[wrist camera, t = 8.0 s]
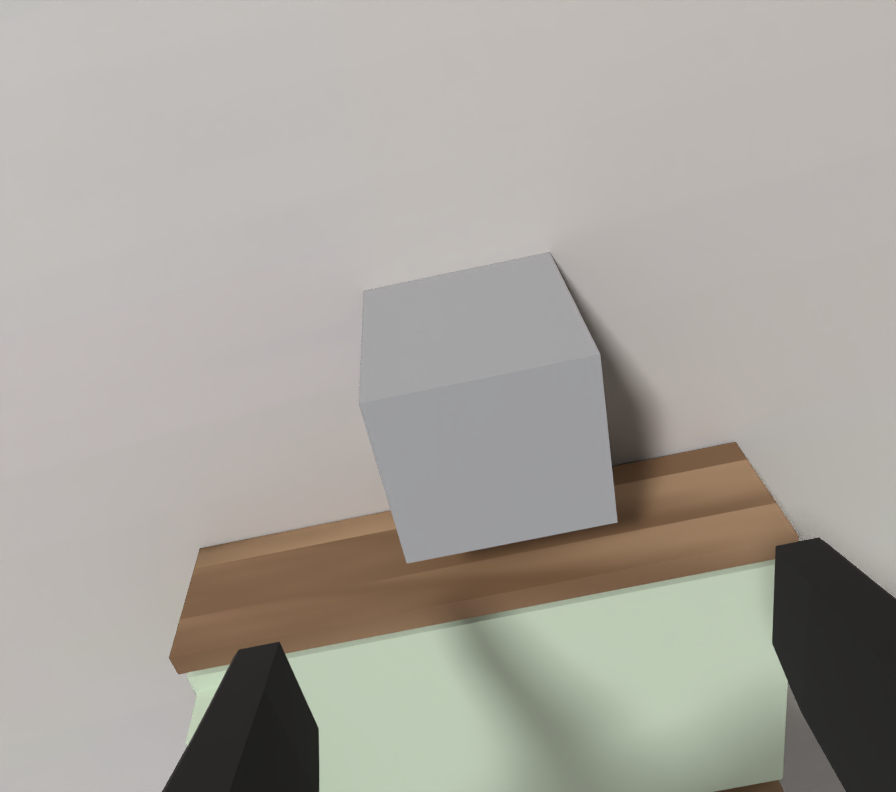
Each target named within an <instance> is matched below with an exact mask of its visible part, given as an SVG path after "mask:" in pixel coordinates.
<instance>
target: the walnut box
mask: <svg viewBox="0 0 896 792" xmlns="http://www.w3.org/2000/svg"><path fill="white" fill-rule="evenodd" d="M612 473H613V482H614V492H615V502H616V512H617V521H618V523H613V524H607V525H602V526H597V527H592V528H587V529H582V530H577V531H571V532H566V533H561V534H556V535H551V536H546V537H541V538H536V539H530V540H525V541H520V542H515V543H510V544H505V545H500V546H495V547H489V548H484V549H479V550H474V551H469V552H464V553H459V554H454V555H448V556H443V557H438V558H433V559H428V560H423V561H418V562H413V563H406V559H405V556H404V553H403V549H402V546H401V543H400V539H399V536H398V533H397V529H396V526H395V523H394V519H393V516H392V513H391V511H386V512H381V513H376V514H371V515H366V516H361V517H356V518H351V519H346V520H341V521H336V522H331V523H326V524H321V525H316V526H311V527H306V528H301V529H296V530H290V531H285V532H280V533H275V534H270V535H265V536H260V537H255V538H250V539H245V540H240V541H235V542H230V543H225V544H220V545H215V546H210V547H205V548H200V550H199V553H198V557H197V560H196V564H195V567H194V571H193V574H192V578H191V582H190V585H189V589H188V592H187V596H186V599H185V603H184V606H183V610H182V613H181V617H180V620H179V624H178V628H177V631H176V635H175V638H174V642H173V645H172V649H171V652H170V656H169V659H170V661H171V662H172V664H173V666H174V668H175V669H176V671H177V673H178V674H182V673H187V672H193V671H198V670H203V669H208V668H213V667H219V666H224V665H229V664H230V663H231V661H232V659H233V657H234V655H235V654H236V653H237V651H238V650H239V649H244V648H249V647H254V646H259V645H264V644H270V643H275V642H280V644H281V646H282V648H283V650H284V652H285V654H286V653H291V652H296V651H302V650H307V649H312V648H317V647H322V646H327V645H333V644H338V643H343V642H348V641H353V640H359V639H364V638H369V637H374V636H379V635H385V634H390V633H395V632H400V631H405V630H410V629H416V628H421V627H426V626H431V625H436V624H442V623H447V622H452V621H457V620H462V619H468V618H473V617H478V616H483V615H488V614H493V613H499V612H504V611H509V610H514V609H519V608H525V607H530V606H535V605H540V604H545V603H551V602H556V601H561V600H566V599H571V598H576V597H582V596H587V595H592V594H597V593H602V592H608V591H613V590H618V589H623V588H628V587H634V586H639V585H644V584H649V583H654V582H659V581H665V580H670V579H675V578H680V577H685V576H691V575H696V574H701V573H706V572H711V571H716V570H722V569H727V568H732V567H737V566H742V565H748V564H753V563H758V562H763V561H768V560H774V559H775V547H776V546H778V545H783V544H788V543H793V542H798V537H799V536H798V534H797V533H796V531H795V530H794V528H793V527H792V525H791V524H790V522H789V521H788V519H787V518H786V516H785V515H784V513H783V512H782V510H781V509H780V507H779V506H778V504H777V503H776V501H775V500H774V498H773V497H772V496H771V494H770V493H769V491H768V490H767V488H766V487H765V485H764V484H763V482H762V481H761V479H760V478H759V476H758V475H757V473H756V472H755V470H754V469H753V467H752V466H751V464H750V463H749V461H748V460H747V458H746V457H745V455H744V454H743V452H742V451H741V449H740V448H739V446H738V445H737V443H736V442H733V443H728V444H723V445H718V446H713V447H708V448H703V449H698V450H693V451H688V452H683V453H678V454H673V455H668V456H663V457H658V458H653V459H648V460H642V461H637V462H632V463H627V464H622V465H617V466H612ZM715 792H784V791H783V789H782V787H781V785H780V783H779V780H775V781H770V782H764V783H759V784H753V785H748V786H742V787H737V788H731V789H726V790H720V791H715Z"/></svg>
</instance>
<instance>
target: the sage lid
mask: <svg viewBox="0 0 896 792" xmlns="http://www.w3.org/2000/svg"><path fill="white" fill-rule="evenodd" d="M774 575H775V559H774V560H768V561H763V562H758V563H753V564H748V565H742V566H737V567H732V568H727V569H722V570H716V571H711V572H706V573H701V574H696V575H691V576H685V577H680V578H675V579H670V580H665V581H659V582H654V583H649V584H644V585H639V586H634V587H628V588H623V589H618V590H613V591H608V592H602V593H597V594H592V595H587V596H582V597H576V598H571V599H566V600H561V601H556V602H551V603H545V604H540V605H535V606H530V607H525V608H519V609H514V610H509V611H504V612H499V613H493V614H488V615H483V616H478V617H473V618H468V619H462V620H457V621H452V622H447V623H442V624H436V625H431V626H426V627H421V628H416V629H410V630H405V631H400V632H395V633H390V634H385V635H379V636H374V637H369V638H364V639H359V640H353V641H348V642H343V643H338V644H333V645H327V646H322V647H317V648H312V649H307V650H302V651H296V652H291V653H286V654H285V655H286V657H287V659H288V661H289V664H290V666H291V668H292V670H293V672H294V675H295V677H296V679H297V681H298V684H299V686H300V688H301V690H302V692H303V695H304V697H305V699H306V701H307V704H308V706H309V708H310V710H311V712H312V715H313V717H314V719H315V721H316V724H317V726H318V728H319V792H715V791H720V790H726V789H731V788H737V787H742V786H748V785H753V784H759V783H764V782H770V781H775V780H781V779H783V765H784V745H785V726H786V707H787V688H788V681H787V678H786V676H785V673H784V671H783V668H782V666H781V664H780V661H779V659H778V656H777V654H776V652H775V649H774V647H773V644H772V630H773V603H774ZM229 665H230V664H229ZM229 665H224V666H219V667H213V668H208V669H203V670H198V671H193V672H188V676H187V679H188V681H189V682H190V684H191V686H192V688H193V690H194V691H195V693H196V695H197V697H196V701H195V706H194V710H193V714H192V719H191V723H190V727H189V731H188V736H187V740H186V745H187V746H188V744H189V742H190V741H191V739H192V737H193V735H194V733H195V731H196V729H197V727H198V725H199V723H200V722H201V720H202V718H203V716H204V714H205V712H206V710H207V708H208V706H209V704H210V702H211V700H212V698H213V696H214V695H215V693H216V691H217V689H218V687H219V685H220V683H221V681H222V679H223V677H224V675H225V673H226V671H227V669H228V667H229Z"/></svg>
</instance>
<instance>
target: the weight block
mask: <svg viewBox="0 0 896 792" xmlns="http://www.w3.org/2000/svg"><path fill="white" fill-rule="evenodd" d="M359 406H360V409H361V412H362V416H363V419H364V422H365V426H366V429H367V432H368V436H369V439H370V442H371V446H372V449H373V452H374V456H375V459H376V463H377V466H378V469H379V473H380V476H381V479H382V483H383V486H384V489H385V493H386V496H387V499H388V503H389V506H390V509H391V513H392V516H393V519H394V523H395V526H396V529H397V533H398V536H399V539H400V543H401V546H402V549H403V553H404V556H405V559H406V563H413V562H418V561H423V560H428V559H433V558H438V557H443V556H448V555H454V554H459V553H464V552H469V551H474V550H479V549H484V548H489V547H495V546H500V545H505V544H510V543H515V542H520V541H525V540H530V539H536V538H541V537H546V536H551V535H556V534H561V533H566V532H571V531H577V530H582V529H587V528H592V527H597V526H602V525H607V524H613V523H618V521H617V512H616V502H615V492H614V482H613V473H612V463H611V453H610V443H609V434H608V424H607V414H606V404H605V395H604V385H603V375H602V365H601V356H600V353H599V351H598V349H597V347H596V344H595V342H594V340H593V338H592V336H591V334H590V332H589V330H588V328H587V326H586V324H585V322H584V320H583V318H582V316H581V314H580V312H579V310H578V308H577V306H576V304H575V302H574V300H573V298H572V296H571V294H570V292H569V290H568V288H567V286H566V284H565V282H564V280H563V278H562V276H561V274H560V272H559V270H558V268H557V266H556V264H555V262H554V260H553V258H552V256H551V254H550V252H547V253H543V254H538V255H533V256H528V257H523V258H519V259H514V260H509V261H504V262H499V263H495V264H490V265H485V266H480V267H475V268H471V269H466V270H461V271H456V272H451V273H447V274H442V275H437V276H432V277H427V278H423V279H418V280H413V281H408V282H403V283H399V284H394V285H389V286H384V287H380V288H375V289H370V290H365V291H364V292H363V316H362V339H361V363H360V387H359Z"/></svg>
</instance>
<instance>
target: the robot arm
mask: <svg viewBox="0 0 896 792" xmlns="http://www.w3.org/2000/svg"><path fill="white" fill-rule="evenodd" d="M772 644H773V647H774V649H775V652H776V654H777V656H778V659H779V661H780V664H781V666H782V668H783V671H784V673H785V676H786V678H787V681H788V683H789V685H790V687H791V690H792V692H793V694H794V696H795V699H796V701H797V703H798V706H799V708H800V710H801V712H802V714H803V716H804V718H805V719H806V721H807V723H808V725H809V727H810V729H811V730H812V732H813V734H814V736H815V737H816V739H817V741H818V743H819V745H820V746H821V748H822V750H823V752H824V753H825V755H826V757H827V759H828V761H829V762H830V764H831V766H832V768H833V769H834V771H835V773H836V775H837V776H838V778H839V780H840V782H841V783H842V785H843V787H844V789H845V790H846V792H896V599H895V598H894V597H893V596H892V595H890V594H889V593H888V592H887V591H885V590H884V589H883V588H882V587H880V586H879V585H878V584H877V583H875V582H874V581H873V580H872V579H870V578H869V577H868V576H867V575H865V574H864V573H863V572H862V571H860V570H859V569H858V568H857V567H856V566H854V565H853V564H852V563H851V562H849V561H848V560H847V559H846V558H844V557H843V556H842V555H841V554H840V553H838V552H837V551H836V550H835V549H833V548H832V547H831V546H830V545H828V544H827V543H826V542H824V541H823V540H822V539H820V538H814V539H809V540H804V541H799V542H793V543H788V544H783V545H778V546H776V547H775V575H774V603H773V630H772ZM162 792H319V728H318V726H317V724H316V721H315V719H314V717H313V715H312V712H311V710H310V708H309V706H308V704H307V701H306V699H305V697H304V695H303V692H302V690H301V688H300V686H299V684H298V681H297V679H296V677H295V675H294V672H293V670H292V668H291V666H290V664H289V661H288V659H287V657H286V655H285V652H284V650H283V648H282V646H281V644H280V642H275V643H270V644H264V645H259V646H254V647H249V648H244V649H239V650H238V651H237V653H236V654H235V655H234V657H233V659H232V661H231V663H230V665H229V667H228V669H227V671H226V673H225V675H224V677H223V679H222V681H221V683H220V685H219V687H218V689H217V691H216V693H215V695H214V696H213V698H212V700H211V702H210V704H209V706H208V708H207V710H206V712H205V714H204V716H203V718H202V720H201V722H200V723H199V725H198V727H197V729H196V731H195V733H194V735H193V737H192V739H191V741H190V742H189V744H188V746H187V748H186V750H185V751H184V753H183V755H182V757H181V759H180V760H179V762H178V764H177V766H176V768H175V769H174V771H173V773H172V775H171V777H170V778H169V780H168V782H167V784H166V786H165V787H164V789H163V791H162Z"/></svg>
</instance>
